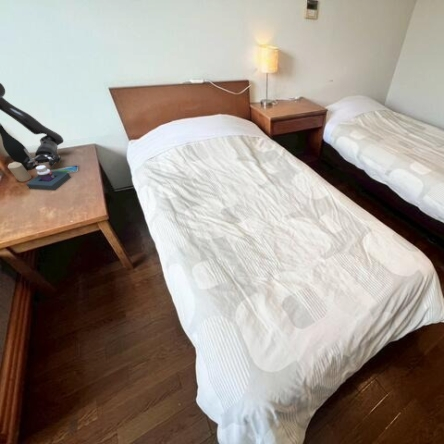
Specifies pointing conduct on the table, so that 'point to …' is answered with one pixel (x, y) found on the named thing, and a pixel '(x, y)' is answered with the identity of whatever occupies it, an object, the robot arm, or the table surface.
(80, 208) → the table surface
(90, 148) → the table surface
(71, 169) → the smartphone
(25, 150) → the wine bottle
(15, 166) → the candle
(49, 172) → the pill bottle
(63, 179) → the socket pad
